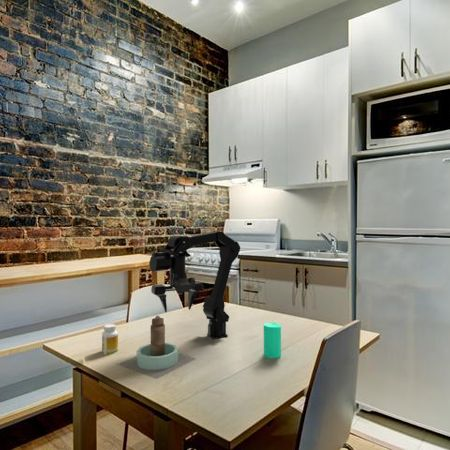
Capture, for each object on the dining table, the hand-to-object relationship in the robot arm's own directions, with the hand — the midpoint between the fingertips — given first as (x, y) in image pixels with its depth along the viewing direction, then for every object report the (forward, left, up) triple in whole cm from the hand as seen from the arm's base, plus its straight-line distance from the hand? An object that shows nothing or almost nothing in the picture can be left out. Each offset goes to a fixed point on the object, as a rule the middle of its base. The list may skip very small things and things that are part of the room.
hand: (177, 310), depth 131 cm
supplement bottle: (+24, -3, -13) cm, 28 cm away
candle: (-27, +23, -13) cm, 38 cm away
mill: (+11, +13, -12) cm, 21 cm away
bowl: (+11, +13, -12) cm, 21 cm away
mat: (+11, +13, -13) cm, 21 cm away
